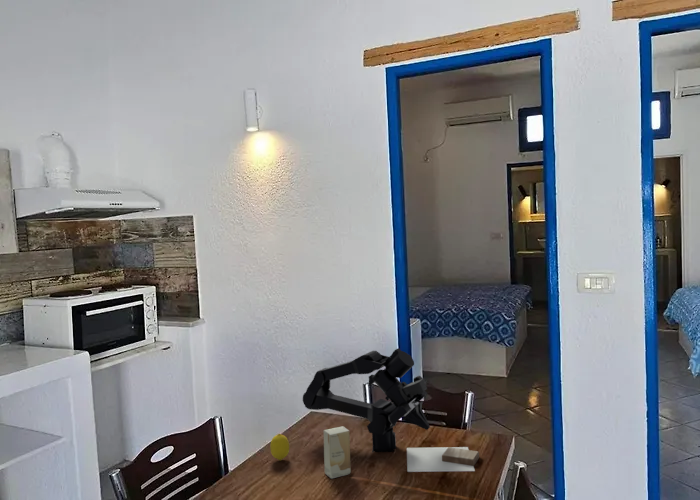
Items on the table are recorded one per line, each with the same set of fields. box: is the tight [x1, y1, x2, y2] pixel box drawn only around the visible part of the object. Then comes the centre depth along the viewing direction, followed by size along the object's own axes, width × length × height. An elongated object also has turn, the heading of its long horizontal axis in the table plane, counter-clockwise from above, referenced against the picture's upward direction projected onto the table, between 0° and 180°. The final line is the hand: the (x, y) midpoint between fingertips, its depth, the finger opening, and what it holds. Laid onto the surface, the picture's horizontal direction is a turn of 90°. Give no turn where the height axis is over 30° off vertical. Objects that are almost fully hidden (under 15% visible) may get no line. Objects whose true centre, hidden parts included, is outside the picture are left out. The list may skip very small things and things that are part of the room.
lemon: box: [270, 433, 290, 462], centre depth 167 cm, size 6×6×8 cm
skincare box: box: [323, 425, 352, 479], centre depth 156 cm, size 6×4×12 cm
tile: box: [442, 446, 480, 467], centre depth 161 cm, size 2×6×9 cm
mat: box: [406, 446, 476, 473], centre depth 162 cm, size 18×16×1 cm
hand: (428, 428), depth 165 cm, fingers closed
